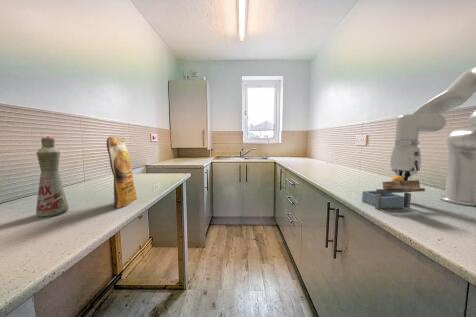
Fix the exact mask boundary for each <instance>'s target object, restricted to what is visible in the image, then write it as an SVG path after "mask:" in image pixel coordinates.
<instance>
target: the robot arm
mask: <svg viewBox="0 0 476 317" xmlns="http://www.w3.org/2000/svg"><path fill="white" fill-rule="evenodd" d="M474 95H476V65H474V66H472V67H469V68H467V69H466V70H465V71H464V72H463V73H461V74H460V75H459V76H458V77H457V78H456V79H454V81H453V82H452V83H451V84H450V85H449V86H448V87H447V88H446V89H445V90H444V91H442V92H441V93H439V94H438V95H436V96H434V97H433V98H431V99H430V100H428V101H427V102H425V103H424V104H422V105H420V106H419V107H418V108H416V109H415V110H414V111H413V113H410V114H409V113H407V114H400V115H399V116H397V118H396V127H395V128H396V129H395V137H394V138H395V139H394V146H393V148H392V152H391V158H390V168H391V172H394V173H395V174H396V176H401V177H403V178H404V181H409V180H408V179H409V178H410V177H411V176H413V175H415V176H416V175H418V172H420V171H421V168H422V166H421V164H422V160H421V159H422V158H421V157H422V156H421V149H420V147H418V145H420V144H421V143H420V141H419V134H421V133H435V132H438V131H441V130H442V129H444V128H445V127H446V124H447V119H446V117H445V116H443V115H442V114H443V113H445V112H448V111H450V110H453V109H456V108H459V107H460V106H462V105H464V104H466V103H467V102H468V101H469V100H470V99H471V98H472V97H473V96H474ZM467 124H468V126H469V127H461V128H458V129H455V130H452V131H451V132H449V133H448V135H447V138H446V144H447V150H448V161H447V162H448V163H447V171H446V182H445V184H446V185H445V192H444V193H445V194H442V195H440V196H439V199H440V200H442V201H444V202H448V203H452V204H457V205H463V206H472V207H473V206H475V207H476V109H474V111H473V112H472V113H471V114H470V115H469V116H468V119H467Z"/></svg>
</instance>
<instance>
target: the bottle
mask: <svg viewBox="0 0 476 317" xmlns="http://www.w3.org/2000/svg"><path fill="white" fill-rule="evenodd" d="M55 140H56V139H55V138H54V137H49V136H46V137H41V139H40V141H41V146H42V147H40V148H39V149H38V150H37V151H36V157H37V161H38V165H39V168H40V176H39V182H38V183H39V184H38V192H37V201H36V210H35V214H36V215H37V216H38V217H41V218H42V217H43V218H44V217H53V216H57V215H58V216H59V215H62V214H64V213H66V212H68V210H69V208H70V206H69V203H68V200H67V198H66V194H65V189H64V186H63V183H62V178H61V175H60V171H59V168H60V167H59V166H60V156H61V151H60V150H59V149H57V148H56V147H55Z"/></svg>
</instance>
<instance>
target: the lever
mask: <svg viewBox="0 0 476 317" xmlns="http://www.w3.org/2000/svg"><path fill="white" fill-rule="evenodd" d="M381 183H382V188H376V190H375V191H376V193H393V194H397V193H398V194H401V193H403V194H404V193H412V192H417V193H418V192H426V189H425V187H421V185H420V180H418V179H416V180H414V179H413V180H408V181H392V180H391V181H382V182H381Z"/></svg>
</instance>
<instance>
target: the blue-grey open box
mask: <svg viewBox="0 0 476 317" xmlns="http://www.w3.org/2000/svg"><path fill="white" fill-rule="evenodd" d="M376 194H381V195H382V202H381V210H388V209H389V210H390V209H392V210H394V209H404V207H403V205H404V196H403V195H399V194H397V193H376V190H364V191H362V194H361V195H362V196H361V200H362V202H363V203H366V204H367V205H370V206H373V207H375V197H376Z"/></svg>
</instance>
